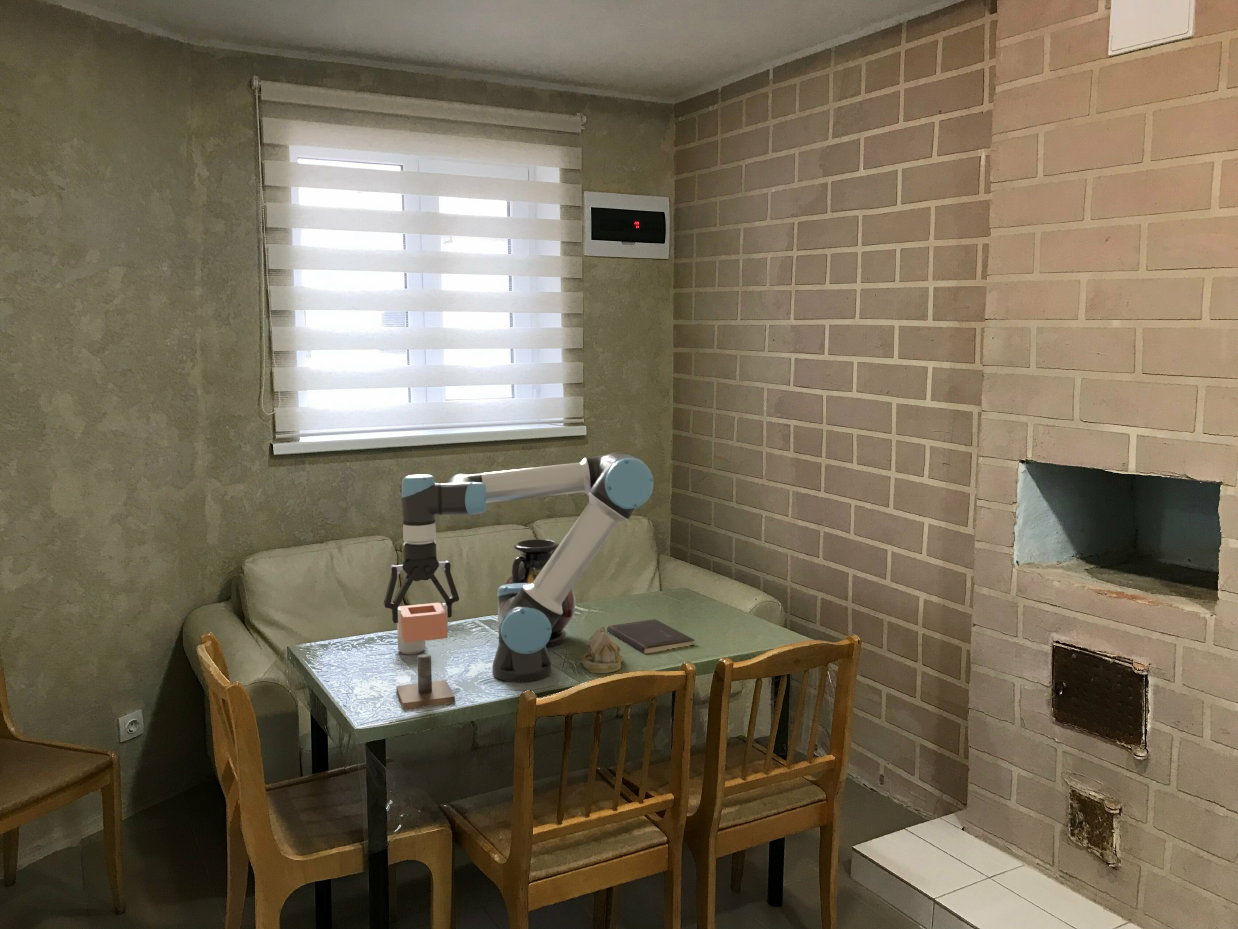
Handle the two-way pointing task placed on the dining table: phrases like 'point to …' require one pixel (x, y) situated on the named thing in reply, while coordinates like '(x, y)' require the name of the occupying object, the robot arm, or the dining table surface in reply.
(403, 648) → the can
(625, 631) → the hardcover book
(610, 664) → the ceramic model
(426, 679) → the post stand
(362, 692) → the dining table surface
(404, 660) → the dining table surface
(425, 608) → the collar
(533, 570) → the amphora vase
